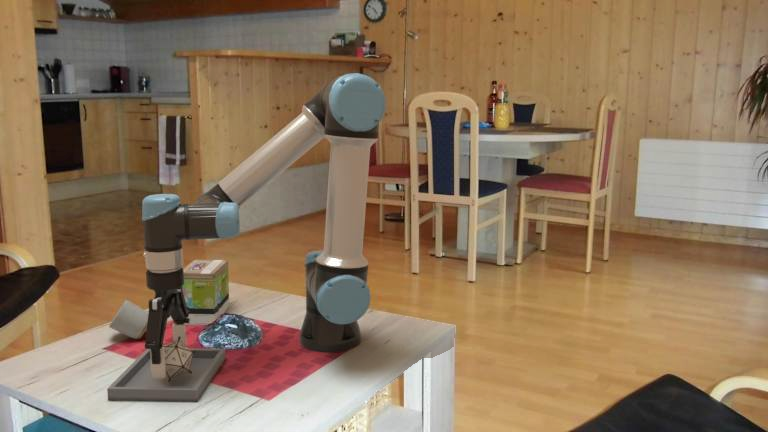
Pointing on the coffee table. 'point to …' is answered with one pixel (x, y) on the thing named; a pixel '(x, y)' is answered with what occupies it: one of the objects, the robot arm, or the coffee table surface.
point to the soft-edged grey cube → (130, 320)
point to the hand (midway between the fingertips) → (170, 364)
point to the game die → (177, 358)
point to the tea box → (206, 290)
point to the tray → (180, 389)
